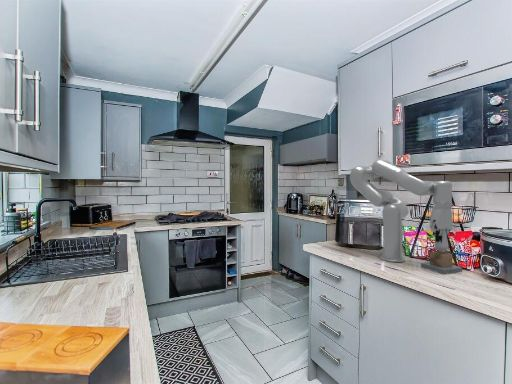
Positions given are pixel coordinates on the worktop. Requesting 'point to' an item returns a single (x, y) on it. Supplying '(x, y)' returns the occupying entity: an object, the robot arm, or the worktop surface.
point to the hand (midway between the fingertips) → (441, 242)
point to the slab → (441, 270)
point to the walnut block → (441, 259)
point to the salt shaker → (444, 244)
